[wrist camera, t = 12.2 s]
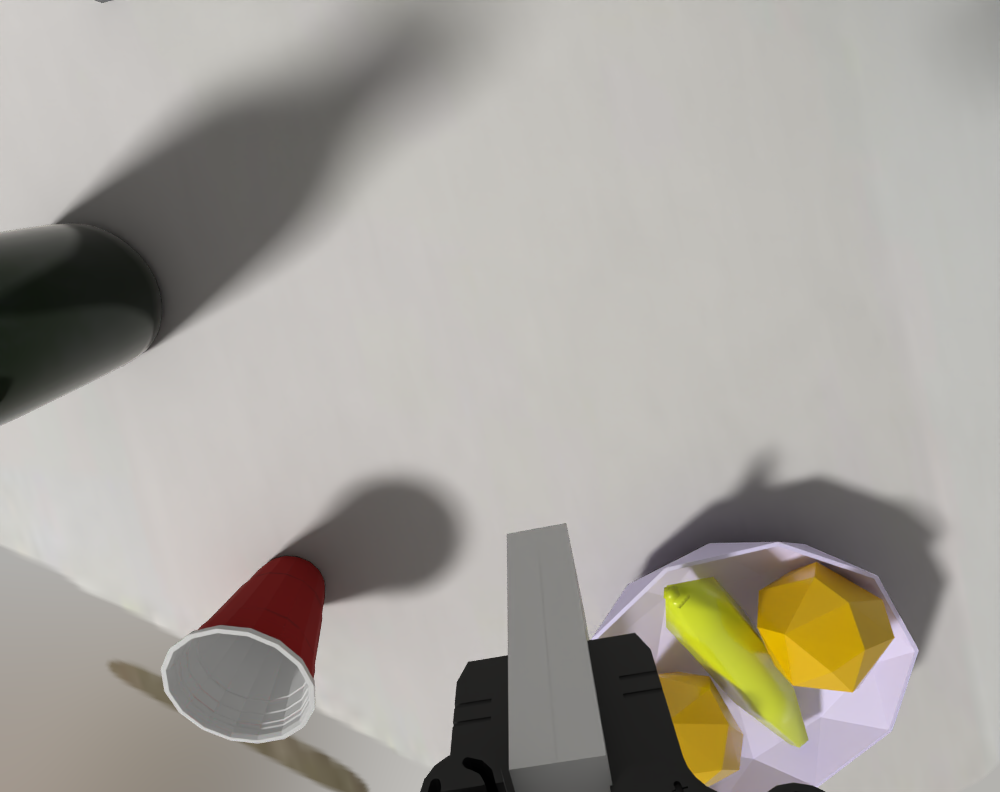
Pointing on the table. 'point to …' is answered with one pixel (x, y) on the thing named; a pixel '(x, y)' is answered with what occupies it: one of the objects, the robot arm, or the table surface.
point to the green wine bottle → (69, 311)
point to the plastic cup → (253, 657)
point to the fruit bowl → (770, 660)
